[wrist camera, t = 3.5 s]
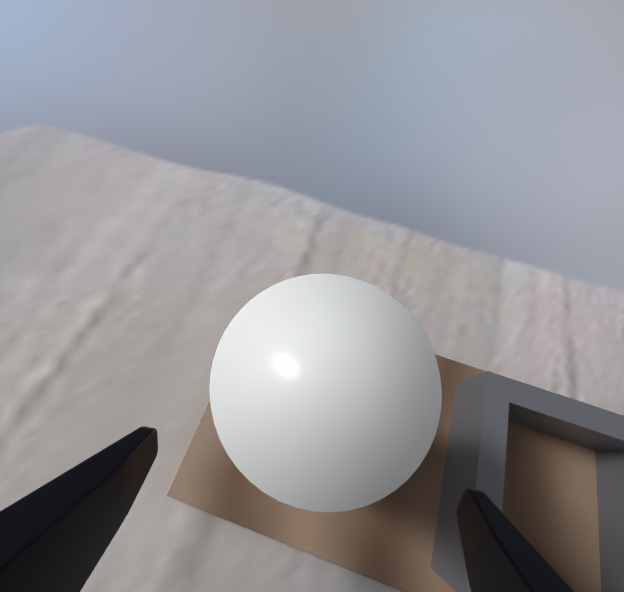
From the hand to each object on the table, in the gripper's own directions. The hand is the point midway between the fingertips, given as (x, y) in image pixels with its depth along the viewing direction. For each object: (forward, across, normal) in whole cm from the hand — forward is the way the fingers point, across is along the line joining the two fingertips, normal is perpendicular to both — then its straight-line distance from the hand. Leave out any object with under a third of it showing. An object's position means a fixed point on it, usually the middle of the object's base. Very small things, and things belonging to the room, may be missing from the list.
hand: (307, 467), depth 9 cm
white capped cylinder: (+8, 0, +5) cm, 9 cm away
